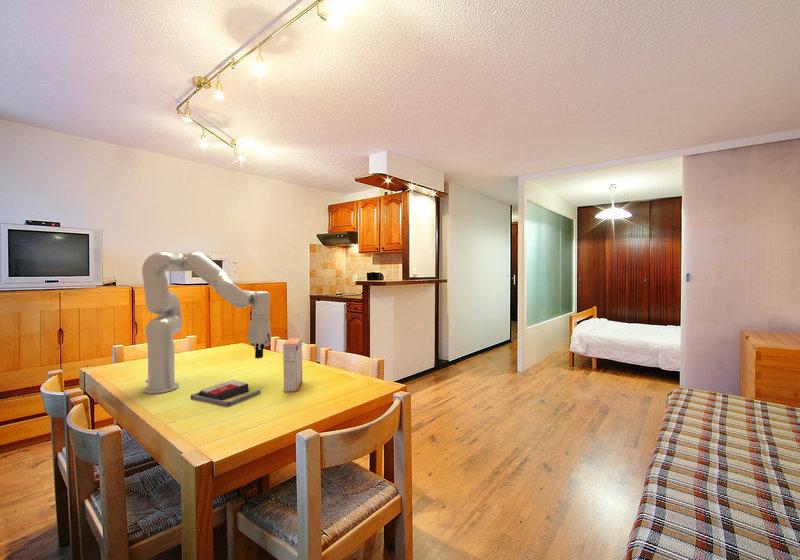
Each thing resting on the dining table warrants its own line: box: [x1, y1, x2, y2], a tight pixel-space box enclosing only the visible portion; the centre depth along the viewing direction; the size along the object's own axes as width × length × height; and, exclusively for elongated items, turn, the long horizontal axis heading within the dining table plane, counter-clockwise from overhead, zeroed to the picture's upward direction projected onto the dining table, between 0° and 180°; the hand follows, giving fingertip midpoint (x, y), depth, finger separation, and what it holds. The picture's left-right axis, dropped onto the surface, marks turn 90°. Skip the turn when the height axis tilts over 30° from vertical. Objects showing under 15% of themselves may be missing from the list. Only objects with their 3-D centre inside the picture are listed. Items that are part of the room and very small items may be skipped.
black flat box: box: [199, 379, 249, 401], centre depth 144 cm, size 11×4×15 cm
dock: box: [190, 389, 262, 408], centre depth 142 cm, size 21×16×2 cm
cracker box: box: [282, 337, 303, 393], centre depth 154 cm, size 14×6×21 cm, turn 6°
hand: (259, 357), depth 159 cm, fingers closed
